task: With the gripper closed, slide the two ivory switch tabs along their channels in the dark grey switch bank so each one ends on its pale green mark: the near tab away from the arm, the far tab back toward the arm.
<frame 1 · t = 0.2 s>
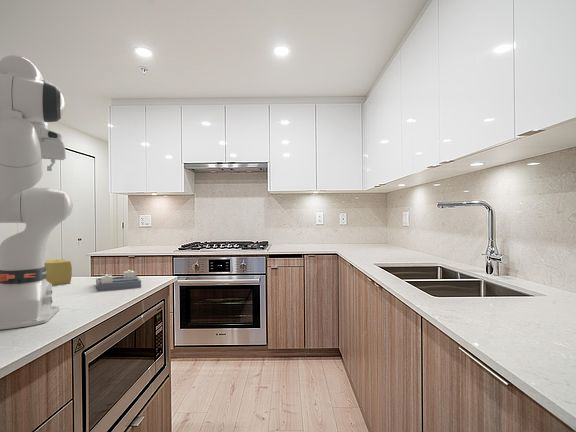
hand: (34, 169, 133), 47 cm above the worktop, tool pointing down, fingers open, 8 cm apart
tab near: (106, 279, 143), point 4 cm above the worktop, slide at 0.0 cm
cheese: (54, 283, 153), on the worktop
tab far: (129, 275, 155), point 4 cm above the worktop, slide at 9.4 cm
switch bank: (118, 285, 149), on the worktop
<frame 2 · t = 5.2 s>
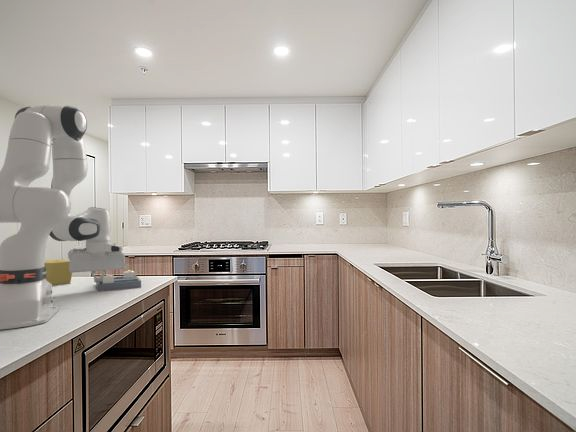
hand: (98, 281, 142), 3 cm above the worktop, tool pointing down, fingers closed
tab near: (108, 279, 144), point 4 cm above the worktop, slide at 0.5 cm, touching gripper
everything else where it was.
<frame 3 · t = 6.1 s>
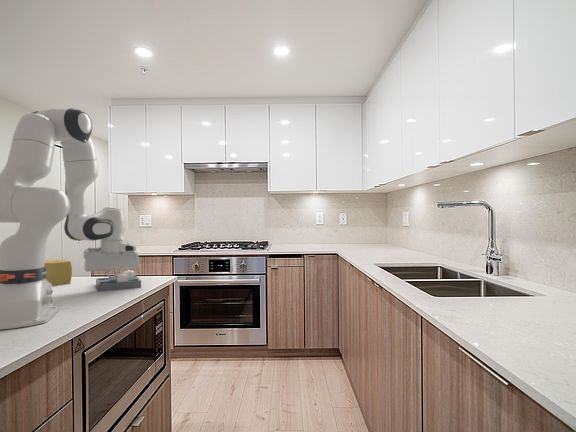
hand: (112, 280, 145), 3 cm above the worktop, tool pointing down, fingers closed
tab near: (122, 278, 146), point 4 cm above the worktop, slide at 5.7 cm, touching gripper
everything else where it was.
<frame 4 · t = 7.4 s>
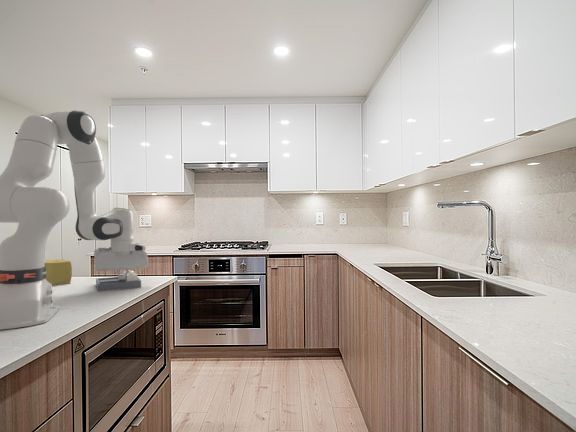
hand: (122, 279, 146), 3 cm above the worktop, tool pointing down, fingers closed
tab near: (131, 278, 148), point 4 cm above the worktop, slide at 9.4 cm, touching gripper
everything else where it was.
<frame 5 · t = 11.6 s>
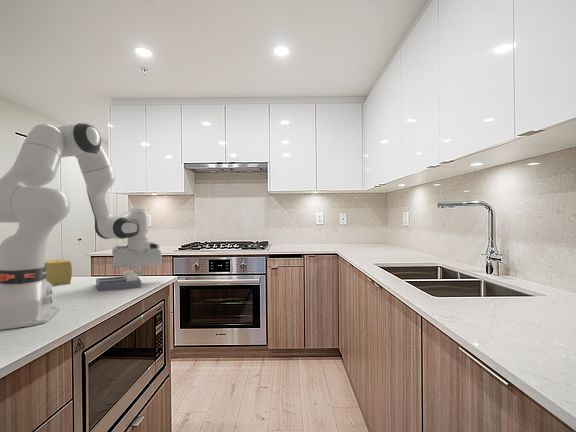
hand: (138, 276, 157), 3 cm above the worktop, tool pointing down, fingers closed
tab near: (131, 277, 148), point 4 cm above the worktop, slide at 9.4 cm
tab far: (128, 275, 155), point 4 cm above the worktop, slide at 9.3 cm, touching gripper
everything else where it was.
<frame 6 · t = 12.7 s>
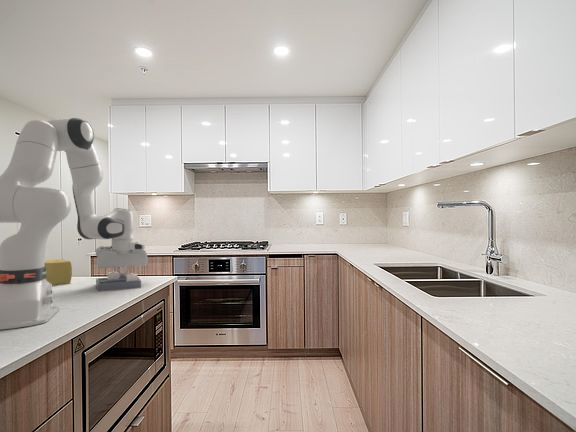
hand: (122, 277, 153), 3 cm above the worktop, tool pointing down, fingers closed
tab far: (113, 276, 152), point 4 cm above the worktop, slide at 3.0 cm, touching gripper
everything else where it was.
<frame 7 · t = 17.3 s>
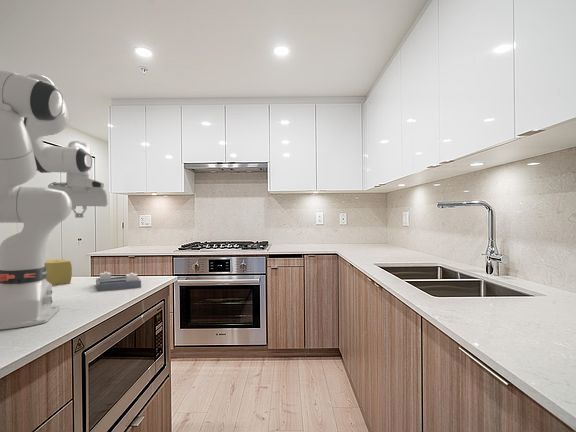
hand: (79, 217, 141), 29 cm above the worktop, tool pointing down, fingers closed
tab far: (105, 276, 150), point 4 cm above the worktop, slide at 0.0 cm
everything else where it was.
at the end: tab near slide at 9.4 cm; tab far slide at 0.0 cm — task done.
